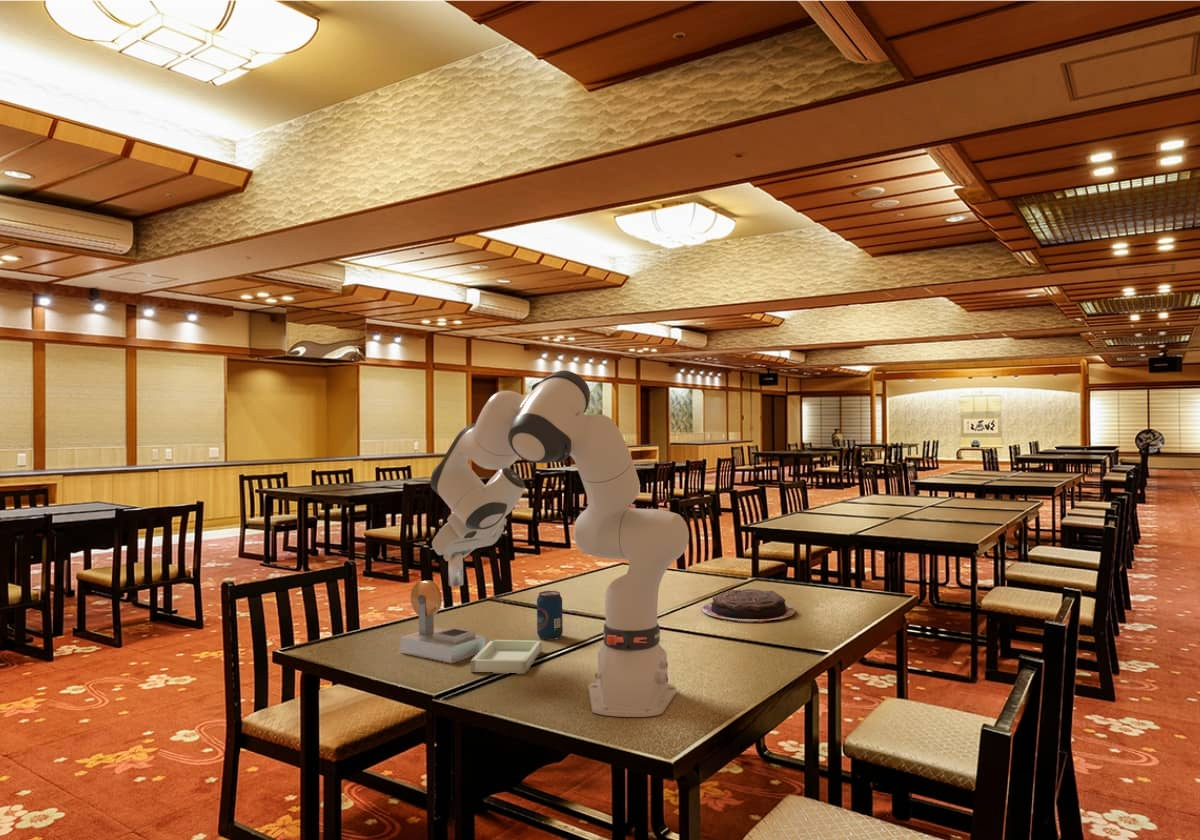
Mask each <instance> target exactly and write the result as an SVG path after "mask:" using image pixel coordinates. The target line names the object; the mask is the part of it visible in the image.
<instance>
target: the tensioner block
mask: <svg viewBox="0 0 1200 840" xmlns="http://www.w3.org/2000/svg"><path fill="white" fill-rule="evenodd" d="M410 591H411V592H410V603H411V607H412V609H413V611H414V612H415V614H417V615H418V631H416V632H413V633H410V634H406V635H402V636H400V654H405V655H410V656H414V657H419V658H423V659H427V658H429V659H428V660H432V659H433V660H432V661H437V660H438V661H437V662H441V661H443V663H446V662H447V663H446V664H454V663H458V662H461V661H462V660H463V661H464V660H466V659H469V658H471V657H470V656H472V657H474V656H473V655H475V654H478V653H479V652H480V651H481V650H482V649H483V648H484V647H485V646H486V635H483V634H482V635H481V634H476V630H475V631H474V630H470V629H469V630H468V629H465V628H459V627H451V628H443V627H440V626H439V627H438V626H434V622H435V621H434V615H436V614H438V612H439V611H440V609H441V607H442V603H443V598H442V592H441V590H440V588H439V586H438V584H437V583H436V582H435V581H433V580H430V579H429V580H428V579H427V580H421V581H418V582H416V583H415V584H414V585H413V586H412V588H411V590H410ZM475 656H476V655H475ZM468 657H469V658H468ZM465 658H466V659H465ZM460 660H461V661H460ZM457 661H458V662H457Z"/></svg>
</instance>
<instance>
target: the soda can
mask: <svg viewBox="0 0 1200 840" xmlns="http://www.w3.org/2000/svg"><path fill="white" fill-rule="evenodd" d="M563 625H564V623H563V598H562V596H561V593H560V592H559V591H557V590H545V591H540V592H538V596H537V598H536V633H537V634H536V635H537V636H538V637H539V639H540V638H542V639H541V640H543V639H555V640H557V639H556V638H559V639H561V636H562V635H563V631H564V630H563V628H564V627H563Z"/></svg>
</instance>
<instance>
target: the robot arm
mask: <svg viewBox="0 0 1200 840" xmlns="http://www.w3.org/2000/svg"><path fill="white" fill-rule="evenodd" d="M590 399H591V392H590V388H589V385H588V383H587V381H586V380H584V378H583V377H582V376H580V375H579V374H577V373H575V372H573V371H570V370H558V371H554V372H553V373H551V374H550V375H547V376H546V377H544V378H543V379H542V380H539V381H538V382H536V383H534V384H532V386H531V391H530V392H529V393H528V394H527V393H526V394H521V393H519V392H516V391H513V390H500V391H498V392H495V393H494V394H493V395H491V397H490V398H489V399H488V400H487V402H486V403H485V404H484V406H483V407H482V410H481V411H480V413H479V416H478V417H477V419H476V422H474V423H471V424H469V425H467V426H466V427H464V428H462V429H461V430H460V432H459V433H458V434H457V435H456V436H455V438H454V440H453V441H452V443H451V444H450V446H449V447H448V450H447V452H446V453H445V455H444V457H443V459H442V460H440V462H439V463H438V464H437V465H436V466H435V468H434V469H433V470H432V473H431V476H430V487H431V489H432V490H433V491H434V492H435V493H436V494H437V495H438V496H439V497H440V498H441V499H442V500H443V502H444V503H445V504H446V505H447V506H448V508H449V509H450V510H451V511H452V514H449V515H448V517H447V522H446V523H444V525H442V527H441V528H440V529H439V531H438V532H437V533H436V535H435V536H434V537H433V540H432V541H431V546H432V548H433V550H434V552H435V553H436V554H437V555H438V556H443V559H444V560H445V562H448V561H450V560H452V558H453V557H454V556H453V553H455V552H459V551H463V559H464V558H466V557H467V556H468V555H469V554H470V553H472V552H473V551H474V550H476V549H478V548H483V547H484V548H485V547H489V546H493V545H494V544H496V543H497V542H498V540H499V538H500V537H501V535H502V534H503V532H504V530H505V525H506V524H507V522H508V520H507V518H506V516H507V515H509V514H510V513H511V512H512V511H513V510H514V508H515V507H516V505H518V502H519V501H520V499H521V497H522V496H523V494H524V491H525V489H526V484H525V482H524V479H522V477H521V476H520V475H519V474H518V473H517V472H516V471H514V470H513V468H512V469H511V468H509V467H511V466H512V465H513V464H515V463H516V461H518V459H519V458H521V460H524V461H525V462H528V463H529V462H530V463H533V464H534V463H535V464H548V463H552V462H553V463H557V464H558V463H561V462H563V461H565V460H567V459H568V457H569V456H570V457H571V458H572V460H573V461H574V463H575V466H576V469H577V471H578V472H577V473H578V475H579V477H580V480H581V483H582V485H583V488H584V492H585V493H586V498H587V507H586V508H585V509H584V510H583V511H582V512H581V513H580V514H579V515H578V517H576V520H575V523H574V525H573V530H572V531H573V534H572V535H573V539H574V543H575V545H576V547H577V549H578V550H579V551H580V552H581V553H583V554H586V555H588V556H592V557H596V558H599V559H610V560H611V559H613V560H625V561H626V560H627V561H628V569H627V572H626V574H623V575H621V576H619V577H617V578H615V579H613V580H612V581H611V582H610V583H609V584H608V586H607V588H606V589H605V592H604V593H605V596H604V597H605V599H604V600H605V606H604V607H605V623H604V624H603V630H602V632H603V633H602V635H603V645H602V647H600V648H599V649H598V651H597V663H598V664H597V665H598V666H597V667H598V668H597V669H598V671H596V672H595V680H598V681H597V682H592V683H590V684H588V696H589V700H590V702H589V703H590V707H591V711H592V713H594V714H598V715H601V716H609V717H617V718H619V717H623V718H646V717H647V718H648V717H654V716H655V717H656V716H659V715H662V714H664V712H665V710H666V708H667V707H668V706H669V704H670V703H671V702H672V700H673V698H674V697H675V696H676V694H677V693H678V688H677V686H676V685H674V684H670V683H669V676H668V674H669V673H668V667H669V665H668V653H667V651H666V650H665V649H664V648H663V647H662V646H661V644H660V641H661V640H660V639H661V637H660V636H661V629H660V624H659V623H658V602H659V601H658V599H659V597H658V596H659V588H660V585H661V581H662V579H663V577H664V575H665V573H666V572H667V570H668V568H669V567H670V566H671V565H672V564H673V563H674V562H676V561H677V560H678V559H679V558H681V556H683V554H684V553H685V552H686V549H687V547H688V546H689V540H690V532H689V531H690V530H689V526H688V524H687V522H686V521H685V519H684V518H683V516H681V515H680V514H679V513H676V512H672V511H668V510H664V509H661V508H660V509H659V508H658V509H657V508H636V507H635V508H632V507H630V505H632V504H633V503H634V502H635V500H636V499H637V497H638V496H639V493H640V490H641V489H640V487H641V483H640V479H639V476H638V472H637V470H636V466H635V464H634V461H633V458H632V455H631V452H630V448H629V447H628V445H627V441H626V439H625V438H624V436H623V434H622V432H621V430H620V429H619V427H618V426H617V424H616V423H615V421H614V420H613V419H612V418H611V417H609V416H608V415H605V414H601V413H600V414H597V413H595V414H593V413H592V414H590V415H589V414H585V413H586V411H587V409H588V408H589V407H588V406H589V404H590ZM469 460H471V461H472V462H473V463H474V464H475V465H476V466H478V467H480V468H483V469H485V470H491V471H492V470H493V471H494V470H495V471H496V473H494V475H493V476H492V477H491V478H490V479H489V480H488V481H487V483H486V484H485V483H484V482H483V480H482V479H481V478H480V477H479V475H477V474H476V472H475V471H474V470H473V469H472V467H471V464H469Z"/></svg>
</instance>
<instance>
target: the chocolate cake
mask: <svg viewBox="0 0 1200 840" xmlns="http://www.w3.org/2000/svg"><path fill="white" fill-rule="evenodd" d="M701 611H702V613H704V614H705V615H706V616H707V617H708V616H709V617H708V618H714V619H715V618H716V620H719V619H720V621H723V620H726V621H725V622H727V621H739V622H738V623H744V622H764V623H767V622H766V621H769V622H772V621H771V620H783V619H784V620H785V619H787V618H790V616H791V617H793V616H794V615H795V613H796V610H795V608H794V607H792V606H791V605H788V604H786V599H785V598H784V597H783V596H782V595H780V594H778V593H777V592H775V591H773V590H761V589H752V588H746V589H744V588H743V589H728V590H727V591H724V592H722V593H720V594H717V595H715V596H713V597H712V602H708V603H706V604H705V605H703V606H702V608H701ZM792 615H793V616H792ZM784 620H783V621H784ZM740 621H741V622H740Z"/></svg>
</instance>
